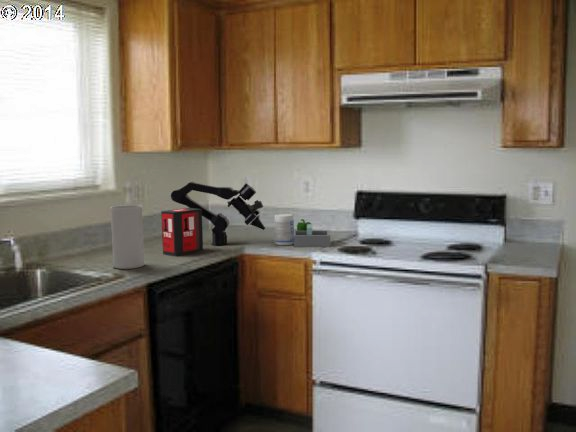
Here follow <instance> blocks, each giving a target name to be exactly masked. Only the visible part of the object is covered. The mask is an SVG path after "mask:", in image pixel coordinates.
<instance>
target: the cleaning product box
mask: <svg viewBox="0 0 576 432" xmlns="http://www.w3.org/2000/svg"><path fill="white" fill-rule="evenodd" d="M160 212H161V213H160V215H161V235H162V254H163V255H164V256H171V257H178V256H184V255H191V254H196V253H201V252H204V241H203V240H204V238H203V237H204V236H203V216H202V209H195V208H189V207H187V208H185V207H184V208H179V209H178V208H176V209H170V210H161V211H160Z"/></svg>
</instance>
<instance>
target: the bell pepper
mask: <svg viewBox="0 0 576 432" xmlns="http://www.w3.org/2000/svg"><path fill="white" fill-rule="evenodd" d="M300 221H301V222H297V225H296V231H307V224H312V223H311V222H305V221H306V220H305V219H303V218H301V219H300Z"/></svg>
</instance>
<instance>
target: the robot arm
mask: <svg viewBox="0 0 576 432" xmlns="http://www.w3.org/2000/svg"><path fill="white" fill-rule="evenodd" d="M192 191H195V192H200V193H204V194H209V195H210V194H211V195H215V196H217V197H219V198H220V199H223V200H229V201H227V202H226V203H227V208H230V207H231V206H232V207H233V208H234V209H235V210H236V211H237V212H238V214H239V215H241V216H243V217H244V224H245V225H247V226H249V225H250V226H253V227H255V228H257V229H261V230H263V231H264V230H266V227H265V225H264V224H263V222H262V221H261V218H260V213H261V211H260V210H259V209H262V208H263V207H264V205H263V203H262V201H261V200H255V201H254V203H253V204H249V203H247V202H246V200H247V201H250V199H251V198H253V196H254V195H255V194H256V193H257V191H256V189H254V187H252V186H251V185H250V184H248V183H247V182H246V183H245V184H244V185H243V186H242V187H241V188H240V189H237V190H236V189H234V188H233V187H231V186H213V185H208V184H205V183H204V184H203V183H199V182H195V181H191V182H188V183H187V184H185V185H184V186H182V187H181V188H179V189H175V190H172V192H171V193H170V198H171V200H172V201H173V202H174V203H177V204H180V205H183V206H185V207H187V208H195V209H202V218H203V217H204V218H205V219H207V220H208V221H209V222H210V223H211V224H212V225H213V226H214V227H213V228H212V229H211V232H212V233H211V237H212V238H211V239H212V242H211V243H210V245H211V246H216V247H218V246H225V245H226V246H227V245H228V244H229V243H228V235H227V232H226V229H227V228H228V227H229V226H230V220H229V219H228V218H227V216H226V215H224V214H223V213H221V212H219V213H218V214H217V213H214V212H212V211H211V210H210V209H208V208H206V207H205V206H203V205H201V204H200V203H199V202H197V201H195V200H193V199H192V198H191V197H190V196H189V195H188V194H190V193H191V192H192ZM236 196H237V197H236Z"/></svg>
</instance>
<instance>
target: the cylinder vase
mask: <svg viewBox="0 0 576 432" xmlns="http://www.w3.org/2000/svg"><path fill="white" fill-rule="evenodd" d="M143 221H144V220H143V206H142V205H137V204H136V205H135V204H129V205H114V206H110V223H111V225H110V226H111V227H110V228H111V240H112V241H111V242H112V244H111V245H112V259H113V260H112V261H113V267H114V269H119V270H133V269H138V268H141V267H144V266H145V247H144V244H145V243H144V225H143V223H144V222H143Z"/></svg>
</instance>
